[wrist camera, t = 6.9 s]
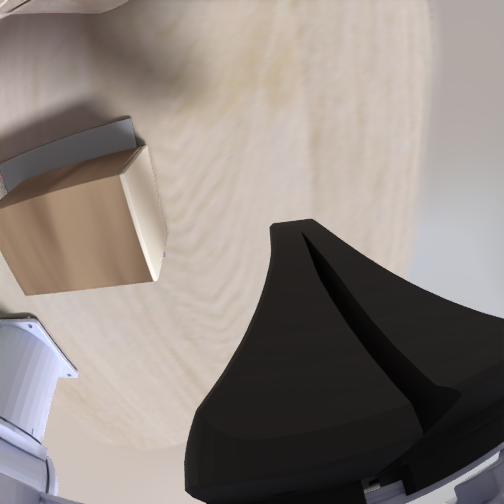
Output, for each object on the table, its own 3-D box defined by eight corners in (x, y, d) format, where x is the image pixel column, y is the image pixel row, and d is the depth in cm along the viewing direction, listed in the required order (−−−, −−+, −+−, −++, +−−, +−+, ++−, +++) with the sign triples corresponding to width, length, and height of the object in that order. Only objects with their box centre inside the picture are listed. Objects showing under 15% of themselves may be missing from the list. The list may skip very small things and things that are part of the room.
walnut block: (168, 233, 16) (51, 252, 16) (146, 145, 13) (22, 180, 13) (157, 280, 13) (25, 295, 12) (124, 173, 10) (-16, 215, 10)
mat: (45, 272, 17) (44, 274, 16) (0, 163, 12) (-2, 164, 12) (165, 254, 17) (164, 256, 17) (131, 117, 12) (129, 118, 12)
